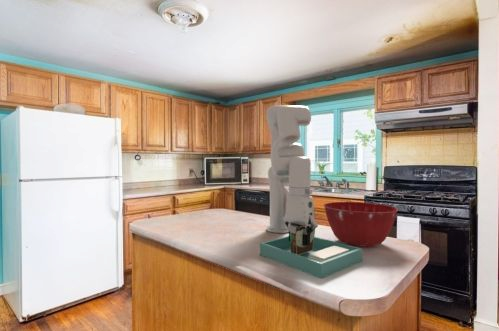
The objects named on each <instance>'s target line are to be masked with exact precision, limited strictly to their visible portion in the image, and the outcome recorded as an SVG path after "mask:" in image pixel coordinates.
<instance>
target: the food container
mask: <svg viewBox="0 0 499 331" xmlns="http://www.w3.org/2000/svg"><path fill="white" fill-rule="evenodd" d="M310 226H312V224H310ZM306 228H307V226H306ZM288 230H289V231H290V244H291V252H292V253H295V254H298V255H301V254H304V253H307V252H310V251H313V244H314V236H315V233H316V228H315V229H314V230H313V231H312V233H311V234H310V245H307V246H303V234H304V231H303V227H302V226H301V225H297V224H293V223H290V225H289V228H288Z"/></svg>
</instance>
